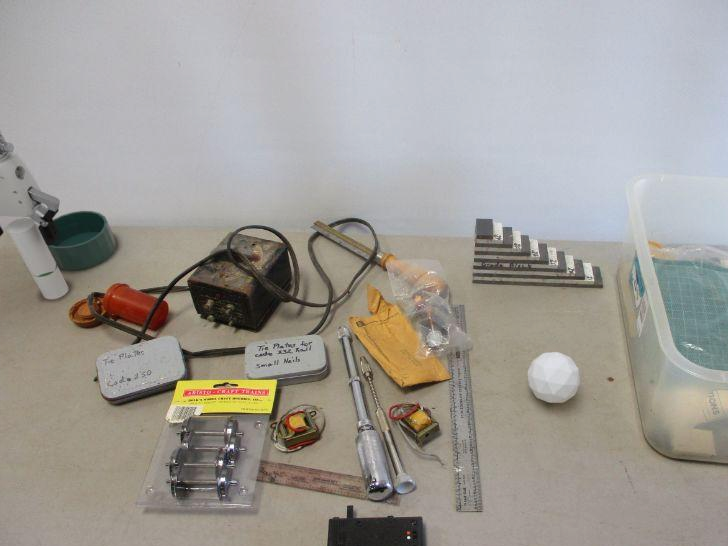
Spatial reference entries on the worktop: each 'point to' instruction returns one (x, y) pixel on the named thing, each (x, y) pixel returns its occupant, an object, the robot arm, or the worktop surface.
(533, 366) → the ball
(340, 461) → the worktop surface
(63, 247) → the bowl
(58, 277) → the tube
